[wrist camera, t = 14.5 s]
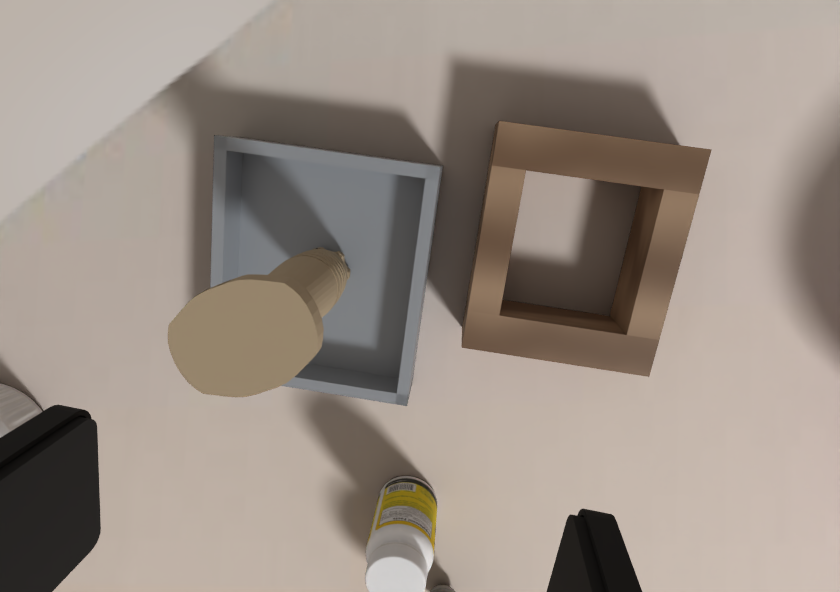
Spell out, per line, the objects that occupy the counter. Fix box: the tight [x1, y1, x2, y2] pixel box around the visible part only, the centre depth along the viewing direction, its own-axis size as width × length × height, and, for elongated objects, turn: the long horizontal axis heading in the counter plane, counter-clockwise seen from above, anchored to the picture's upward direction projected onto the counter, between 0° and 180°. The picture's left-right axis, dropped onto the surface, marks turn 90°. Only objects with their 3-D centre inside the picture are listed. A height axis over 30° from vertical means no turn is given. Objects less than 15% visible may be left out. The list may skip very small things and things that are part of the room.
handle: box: [168, 247, 351, 397], centre depth 29 cm, size 5×6×15 cm
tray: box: [210, 135, 443, 406], centre depth 36 cm, size 16×14×4 cm
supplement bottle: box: [365, 476, 437, 592], centre depth 38 cm, size 5×5×8 cm
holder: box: [462, 121, 711, 377], centre depth 33 cm, size 14×12×4 cm
